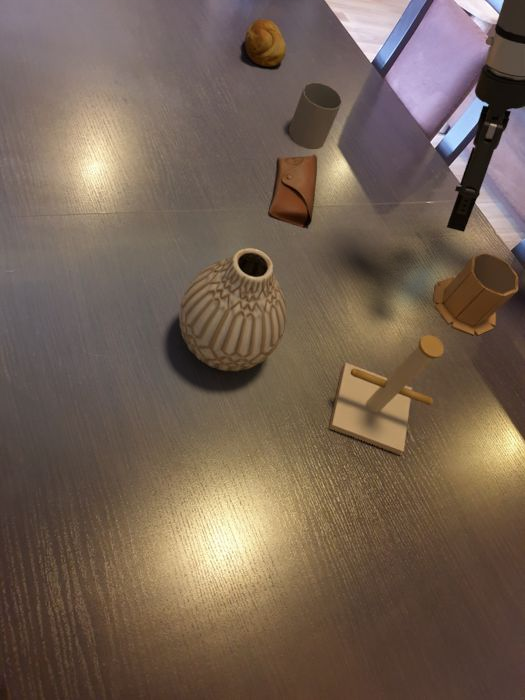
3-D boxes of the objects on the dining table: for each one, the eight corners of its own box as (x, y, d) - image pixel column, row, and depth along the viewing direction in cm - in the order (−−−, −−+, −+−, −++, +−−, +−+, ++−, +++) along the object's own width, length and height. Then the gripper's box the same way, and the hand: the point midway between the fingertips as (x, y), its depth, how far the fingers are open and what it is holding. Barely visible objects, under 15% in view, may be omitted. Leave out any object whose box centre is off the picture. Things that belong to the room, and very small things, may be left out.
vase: (203, 401, 84) (232, 329, 68) (155, 319, 90) (171, 233, 73) (288, 364, 92) (333, 291, 75) (240, 290, 97) (271, 207, 81)
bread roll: (241, 34, 138) (248, 1, 131) (279, 43, 140) (288, 10, 134) (243, 66, 131) (251, 32, 125) (283, 74, 134) (293, 42, 127)
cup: (307, 119, 127) (322, 78, 119) (332, 142, 125) (349, 102, 117) (281, 129, 123) (295, 88, 115) (306, 153, 121) (322, 113, 113)
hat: (495, 293, 113) (527, 261, 105) (493, 343, 106) (528, 314, 98) (436, 269, 113) (464, 236, 104) (430, 319, 105) (459, 286, 97)
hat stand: (411, 393, 95) (479, 329, 79) (403, 456, 88) (476, 401, 72) (338, 365, 94) (391, 294, 78) (324, 426, 87) (379, 363, 71)
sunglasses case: (276, 154, 117) (300, 136, 113) (298, 175, 121) (322, 159, 117) (267, 215, 107) (293, 198, 103) (292, 236, 111) (318, 220, 107)
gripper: (493, 35, 85) (451, 165, 100) (470, 99, 69) (424, 241, 84) (545, 44, 83) (494, 175, 98) (534, 112, 67) (475, 255, 82)
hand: (462, 206), depth 91 cm, fingers open, 13 cm apart
